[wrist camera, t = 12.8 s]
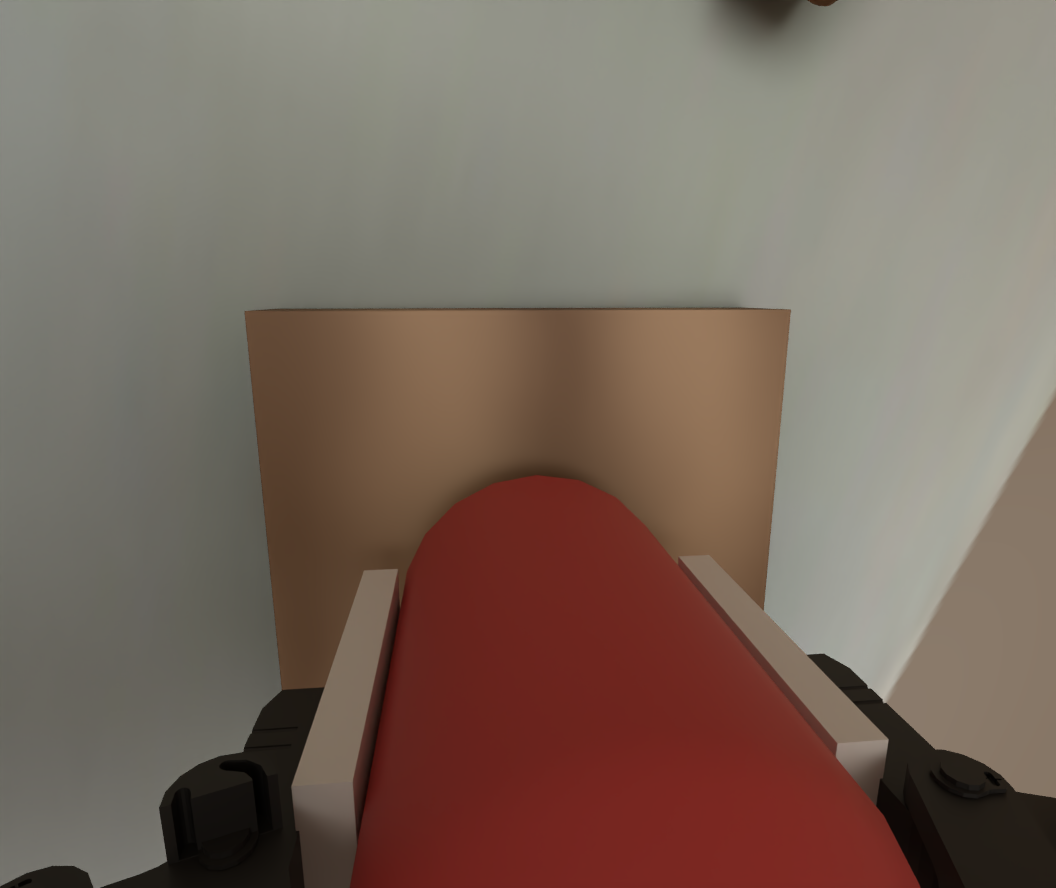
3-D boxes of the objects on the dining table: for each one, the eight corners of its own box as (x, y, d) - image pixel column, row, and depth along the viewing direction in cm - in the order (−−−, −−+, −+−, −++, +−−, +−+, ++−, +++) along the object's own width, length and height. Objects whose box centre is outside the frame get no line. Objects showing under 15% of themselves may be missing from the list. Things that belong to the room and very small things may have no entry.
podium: (314, 730, 22) (292, 798, 19) (278, 308, 18) (244, 311, 16) (712, 703, 23) (749, 761, 20) (741, 307, 20) (790, 309, 17)
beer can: (704, 606, 17) (1228, 1265, 5) (507, 747, 17) (610, 1652, 6) (562, 414, 15) (882, 770, 4) (349, 574, 16) (52, 1341, 4)
